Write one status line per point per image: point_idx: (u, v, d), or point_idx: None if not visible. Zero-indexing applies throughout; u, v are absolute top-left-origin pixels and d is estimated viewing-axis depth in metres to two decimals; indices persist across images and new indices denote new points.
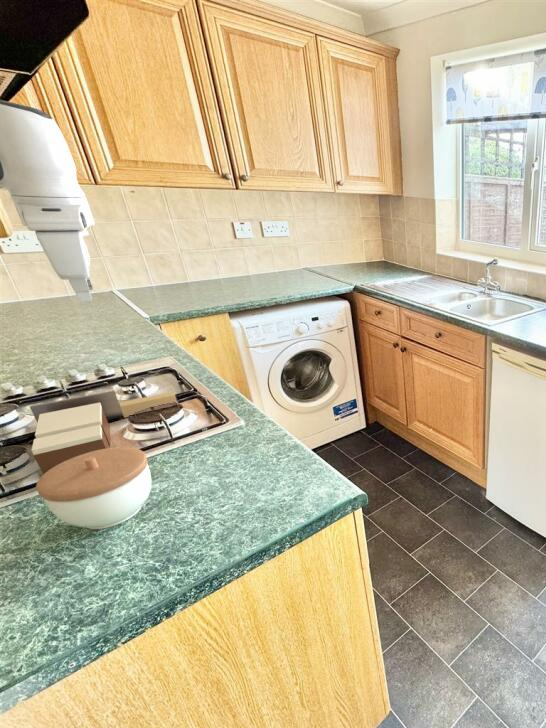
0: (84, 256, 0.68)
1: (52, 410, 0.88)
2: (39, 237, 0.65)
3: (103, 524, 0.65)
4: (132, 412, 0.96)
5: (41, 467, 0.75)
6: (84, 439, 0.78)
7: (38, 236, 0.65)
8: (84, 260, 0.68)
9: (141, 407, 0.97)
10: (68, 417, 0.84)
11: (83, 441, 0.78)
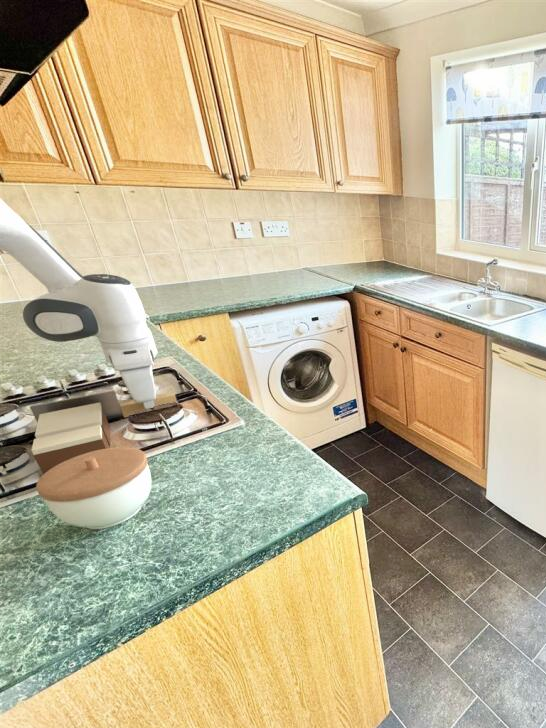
0: (153, 384, 0.90)
1: (52, 410, 0.88)
2: (122, 375, 0.87)
3: (103, 524, 0.65)
4: (132, 412, 0.96)
5: (41, 467, 0.75)
6: (84, 439, 0.78)
7: (122, 375, 0.87)
8: (153, 387, 0.90)
9: (141, 407, 0.97)
10: (68, 417, 0.84)
11: (83, 441, 0.78)
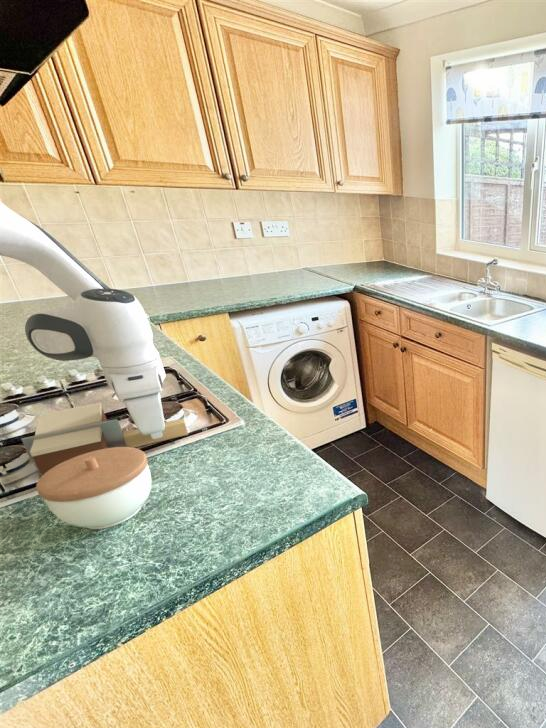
0: (162, 414, 0.79)
1: None
2: (127, 405, 0.76)
3: (103, 524, 0.65)
4: (137, 443, 0.86)
5: (40, 469, 0.75)
6: (83, 441, 0.77)
7: (126, 404, 0.76)
8: (162, 417, 0.79)
9: (147, 437, 0.86)
10: (68, 417, 0.84)
11: (82, 443, 0.77)
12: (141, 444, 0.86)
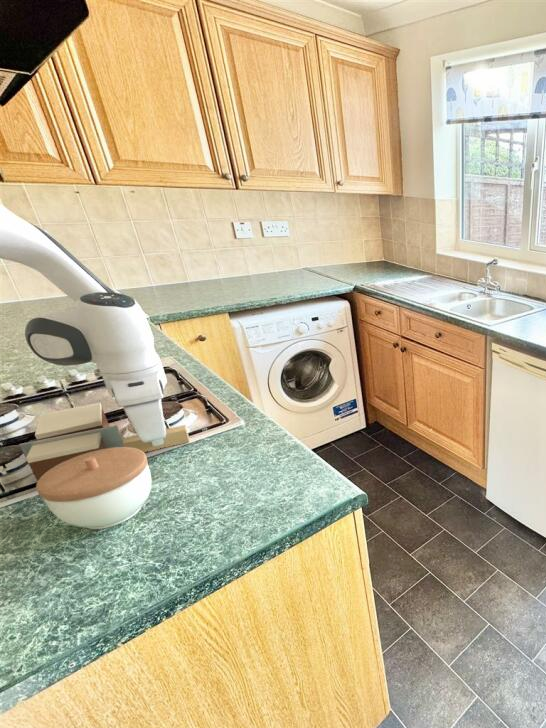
0: (163, 421, 0.77)
1: None
2: (127, 412, 0.74)
3: (103, 524, 0.65)
4: None
5: (36, 475, 0.73)
6: (80, 448, 0.75)
7: (126, 411, 0.74)
8: (163, 425, 0.77)
9: (147, 444, 0.84)
10: (68, 417, 0.84)
11: (79, 450, 0.75)
12: None
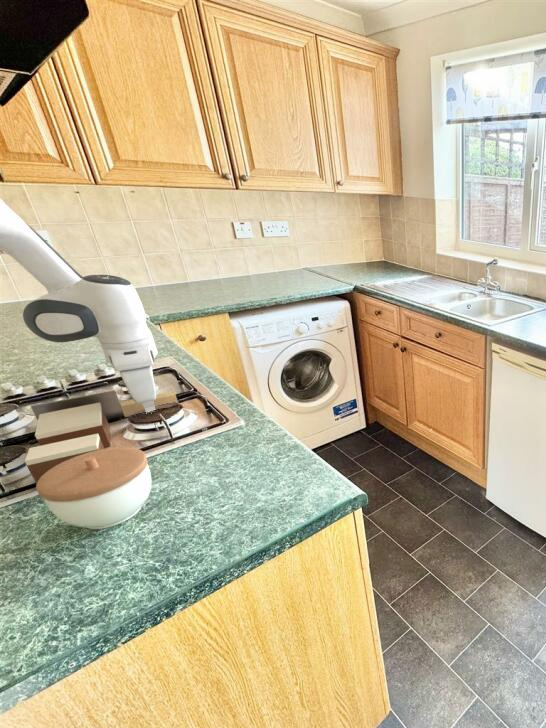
0: (153, 385, 0.90)
1: (53, 410, 0.88)
2: (123, 376, 0.87)
3: (103, 524, 0.65)
4: (133, 412, 0.96)
5: (35, 478, 0.73)
6: (79, 449, 0.75)
7: (122, 375, 0.87)
8: (153, 388, 0.90)
9: (142, 407, 0.97)
10: (68, 417, 0.84)
11: (78, 451, 0.75)
12: None
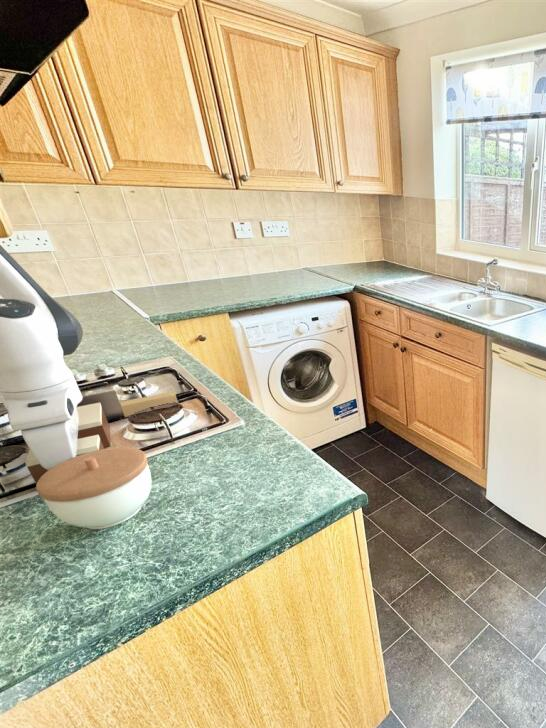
0: (70, 446, 0.68)
1: None
2: (25, 437, 0.65)
3: (103, 524, 0.65)
4: (133, 412, 0.96)
5: (35, 479, 0.72)
6: (80, 450, 0.75)
7: (24, 436, 0.65)
8: (70, 450, 0.68)
9: (142, 407, 0.97)
10: None
11: (79, 452, 0.75)
12: None
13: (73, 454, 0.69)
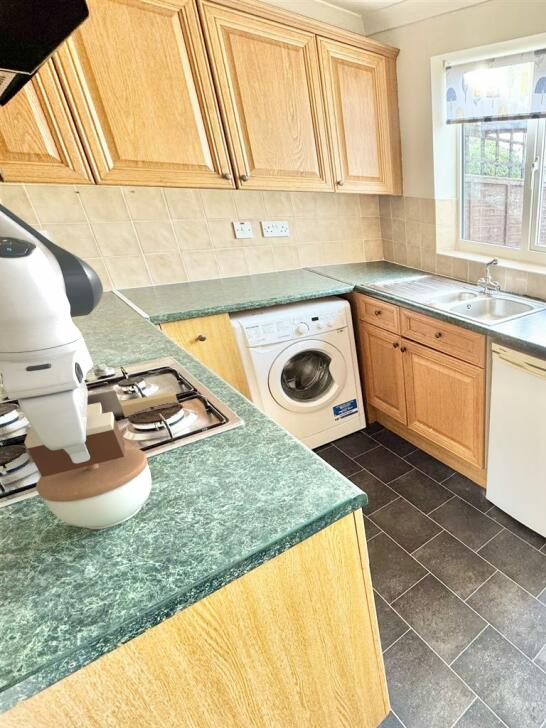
0: (79, 420, 0.55)
1: None
2: (23, 407, 0.52)
3: (103, 524, 0.65)
4: (133, 412, 0.96)
5: (37, 464, 0.59)
6: (91, 429, 0.62)
7: (21, 406, 0.52)
8: (79, 425, 0.55)
9: (142, 407, 0.97)
10: None
11: (90, 432, 0.62)
12: None
13: (83, 431, 0.56)
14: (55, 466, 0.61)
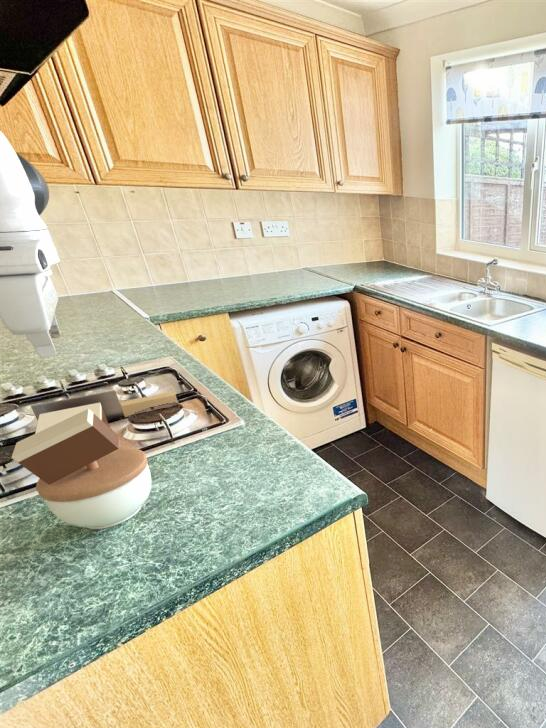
0: (42, 305, 0.55)
1: (53, 410, 0.88)
2: None
3: (103, 524, 0.65)
4: (133, 412, 0.96)
5: (36, 474, 0.60)
6: (70, 431, 0.60)
7: None
8: (43, 310, 0.55)
9: (142, 407, 0.97)
10: (68, 417, 0.84)
11: (70, 433, 0.60)
12: None
13: (46, 317, 0.55)
14: (55, 472, 0.61)
